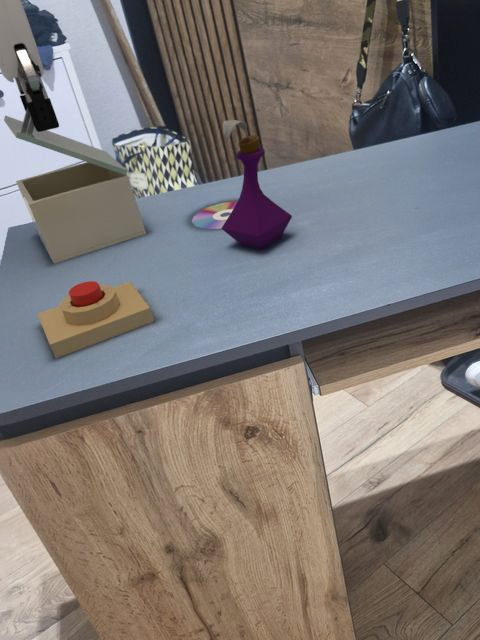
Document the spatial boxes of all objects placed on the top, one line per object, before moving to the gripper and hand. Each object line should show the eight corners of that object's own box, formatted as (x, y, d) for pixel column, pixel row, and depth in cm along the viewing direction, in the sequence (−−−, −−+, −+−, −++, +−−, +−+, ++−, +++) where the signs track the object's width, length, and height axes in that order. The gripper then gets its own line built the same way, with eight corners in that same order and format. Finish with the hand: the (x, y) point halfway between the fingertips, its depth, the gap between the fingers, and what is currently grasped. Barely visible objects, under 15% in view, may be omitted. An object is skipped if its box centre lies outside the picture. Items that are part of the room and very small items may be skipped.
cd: (267, 200, 109) (267, 199, 109) (247, 228, 100) (247, 227, 100) (206, 202, 111) (205, 202, 111) (181, 230, 102) (181, 230, 102)
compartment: (54, 264, 97) (28, 204, 92) (39, 237, 107) (15, 181, 102) (146, 234, 103) (127, 175, 97) (124, 211, 113) (106, 156, 107)
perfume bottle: (259, 228, 100) (234, 109, 89) (296, 236, 96) (274, 112, 85) (225, 248, 95) (195, 125, 85) (263, 257, 91) (235, 129, 81)
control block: (56, 359, 75) (43, 331, 73) (43, 328, 82) (31, 301, 79) (155, 322, 79) (145, 294, 77) (135, 295, 86) (126, 269, 84)
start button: (77, 311, 76) (71, 299, 75) (71, 300, 79) (65, 288, 78) (106, 301, 78) (102, 288, 77) (99, 290, 80) (95, 278, 79)
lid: (15, 137, 87) (26, 97, 86) (3, 120, 97) (13, 84, 96) (126, 175, 97) (137, 139, 96) (104, 156, 107) (115, 123, 106)
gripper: (-42, -12, 89) (10, 120, 99) (-32, -8, 77) (26, 143, 87) (15, -20, 92) (60, 109, 102) (33, -17, 79) (82, 130, 90)
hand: (44, 123), depth 94 cm, fingers closed on lid, 5 cm apart
